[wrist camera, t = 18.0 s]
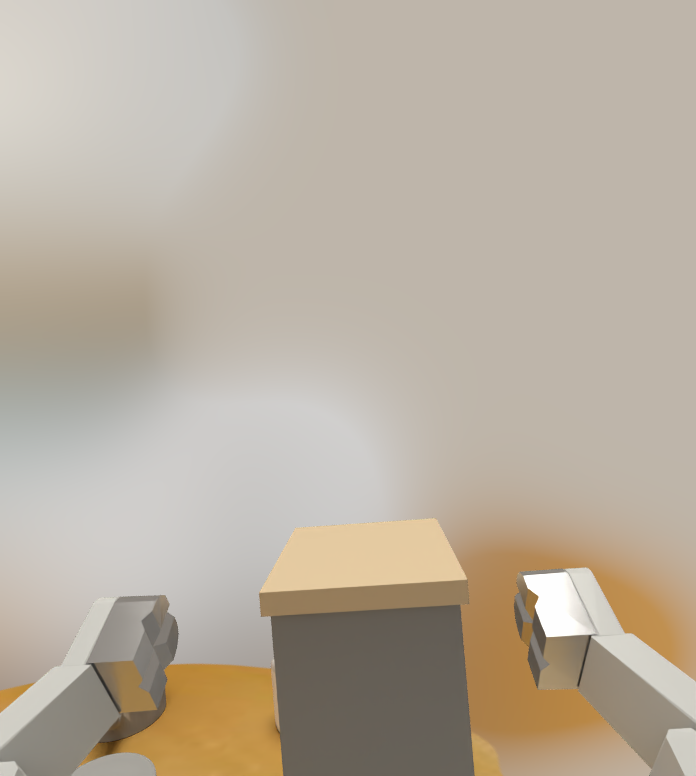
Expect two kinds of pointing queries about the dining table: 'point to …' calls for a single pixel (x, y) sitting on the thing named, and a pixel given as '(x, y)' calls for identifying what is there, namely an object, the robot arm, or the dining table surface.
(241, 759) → the dining table surface
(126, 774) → the canned food
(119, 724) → the coffee mug
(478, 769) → the dining table surface
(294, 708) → the stand
